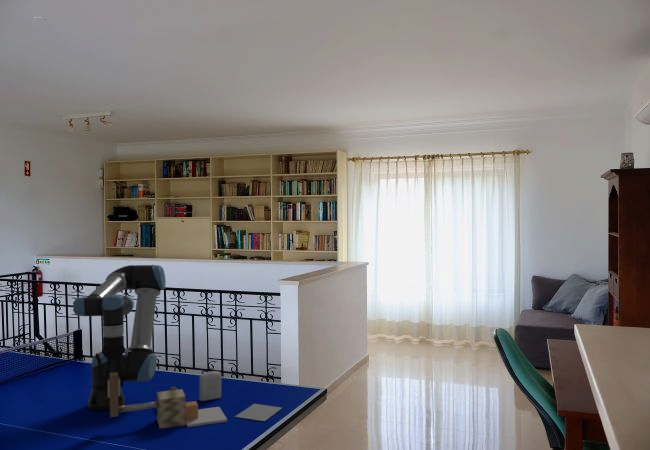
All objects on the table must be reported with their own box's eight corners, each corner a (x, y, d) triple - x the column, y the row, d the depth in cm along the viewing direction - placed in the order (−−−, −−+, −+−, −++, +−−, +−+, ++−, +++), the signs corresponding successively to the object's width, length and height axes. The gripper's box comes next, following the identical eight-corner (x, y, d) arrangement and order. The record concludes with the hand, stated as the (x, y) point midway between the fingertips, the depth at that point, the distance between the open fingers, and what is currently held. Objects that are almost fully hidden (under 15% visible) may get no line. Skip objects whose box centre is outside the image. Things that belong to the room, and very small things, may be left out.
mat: (187, 427, 215) (187, 424, 215) (182, 414, 230) (182, 411, 230) (227, 421, 221) (227, 419, 221) (219, 408, 236) (219, 406, 236)
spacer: (185, 420, 220) (185, 406, 220) (183, 415, 225) (183, 402, 225) (198, 418, 222) (197, 405, 222) (196, 414, 227) (195, 401, 227)
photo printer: (219, 395, 254) (219, 368, 254) (222, 398, 250) (222, 371, 250) (197, 399, 248) (197, 372, 248) (201, 402, 245) (201, 374, 245)
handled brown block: (110, 417, 210) (109, 375, 210) (109, 413, 214) (109, 373, 213) (179, 408, 220) (179, 368, 220) (178, 405, 223) (177, 366, 223)
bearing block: (159, 428, 214) (159, 399, 214) (157, 419, 223) (156, 392, 223) (185, 424, 218) (185, 396, 218) (182, 416, 227) (182, 389, 227)
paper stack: (214, 415, 229) (214, 413, 229) (244, 397, 252) (244, 395, 252) (264, 422, 221) (264, 421, 221) (290, 403, 244) (290, 401, 244)
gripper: (90, 339, 205) (91, 401, 206) (135, 335, 212) (136, 396, 212) (90, 335, 212) (91, 395, 213) (134, 331, 218) (135, 390, 219)
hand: (113, 395), depth 212 cm, fingers closed on handled brown block, 3 cm apart
